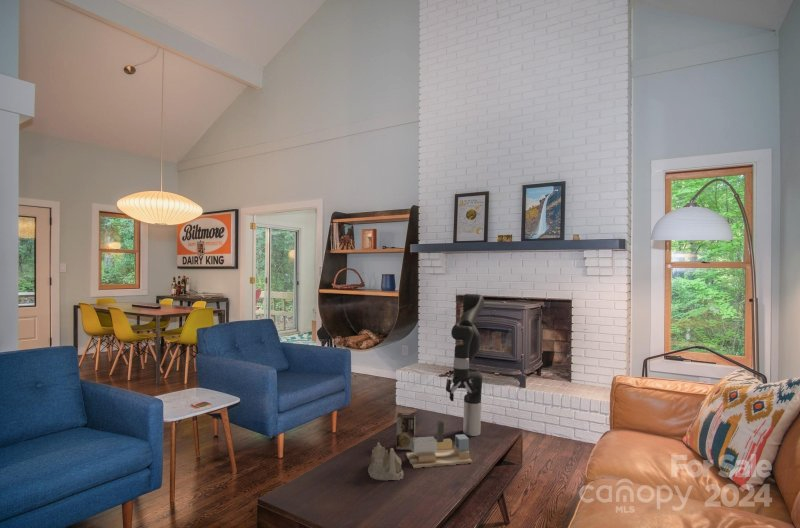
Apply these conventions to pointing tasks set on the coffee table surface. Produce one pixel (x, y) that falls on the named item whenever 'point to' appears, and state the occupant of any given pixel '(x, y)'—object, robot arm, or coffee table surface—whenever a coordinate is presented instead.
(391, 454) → the ceramic cottage
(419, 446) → the grey and tan block
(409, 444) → the coffee box
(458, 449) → the slate-blue socket
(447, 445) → the multicoloured piece
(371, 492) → the coffee table surface
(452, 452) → the birch board
